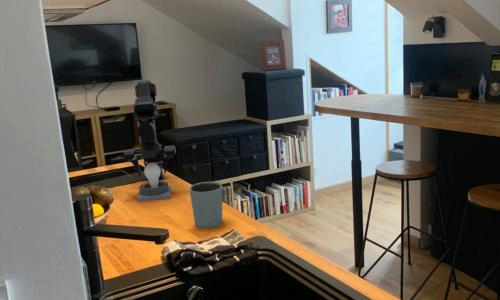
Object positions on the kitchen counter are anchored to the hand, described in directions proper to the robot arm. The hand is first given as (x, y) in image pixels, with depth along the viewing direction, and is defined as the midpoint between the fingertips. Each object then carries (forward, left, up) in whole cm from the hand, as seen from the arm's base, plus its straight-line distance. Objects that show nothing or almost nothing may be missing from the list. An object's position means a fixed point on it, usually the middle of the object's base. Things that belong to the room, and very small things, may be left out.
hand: (152, 174), depth 179 cm
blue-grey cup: (+36, +19, -8) cm, 42 cm away
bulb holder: (0, 0, -8) cm, 8 cm away
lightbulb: (0, 0, -7) cm, 7 cm away
